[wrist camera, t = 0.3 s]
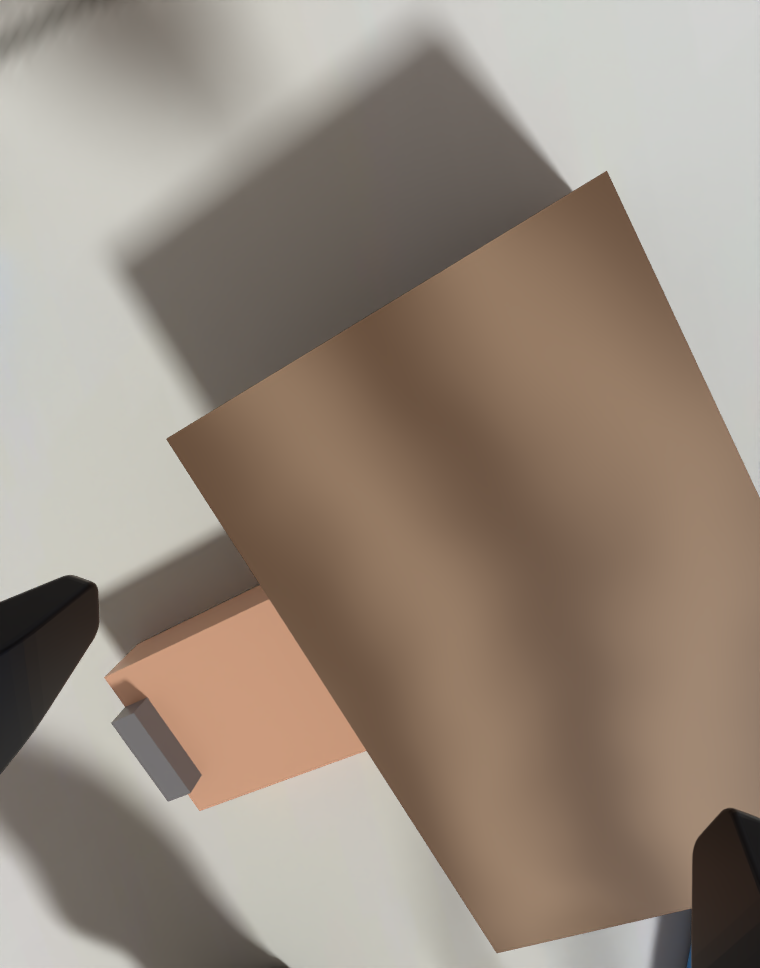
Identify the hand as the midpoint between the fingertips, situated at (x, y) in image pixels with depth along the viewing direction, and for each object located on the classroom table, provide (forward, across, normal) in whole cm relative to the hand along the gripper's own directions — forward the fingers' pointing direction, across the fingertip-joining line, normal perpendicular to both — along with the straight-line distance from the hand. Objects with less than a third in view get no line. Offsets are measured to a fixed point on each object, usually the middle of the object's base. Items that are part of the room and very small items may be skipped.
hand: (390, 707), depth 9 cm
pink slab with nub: (+12, +4, +14) cm, 19 cm away
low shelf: (+14, -4, +6) cm, 16 cm away
